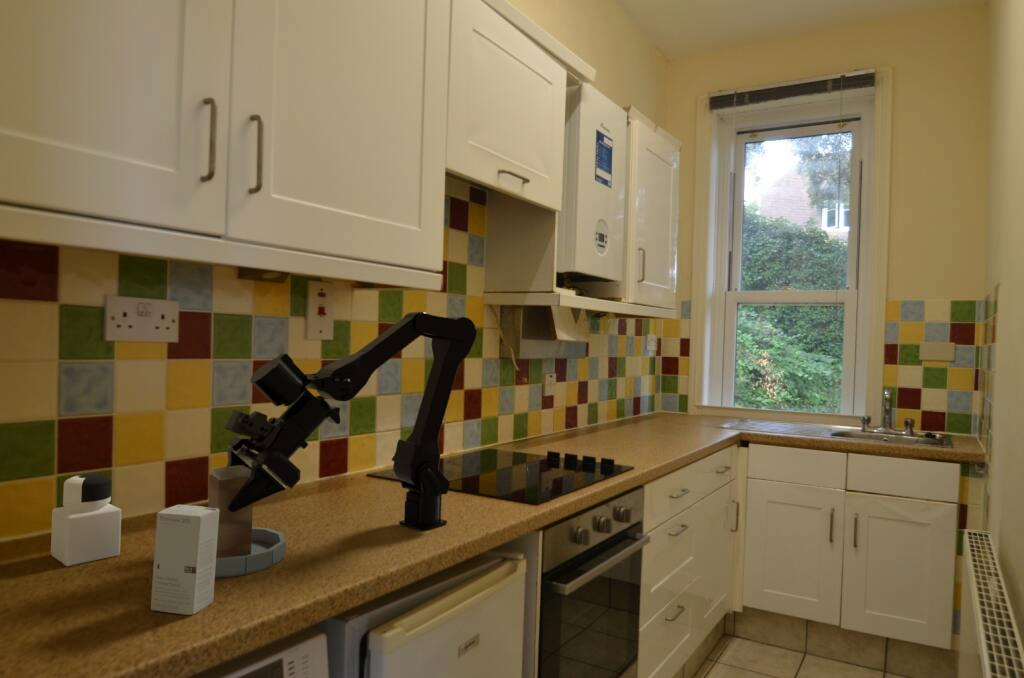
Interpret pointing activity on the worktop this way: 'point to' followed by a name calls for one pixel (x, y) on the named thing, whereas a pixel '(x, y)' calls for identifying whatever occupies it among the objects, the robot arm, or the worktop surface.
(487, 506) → the worktop surface
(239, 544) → the walnut block
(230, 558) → the slate dish
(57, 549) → the medicine bottle
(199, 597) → the skincare box
